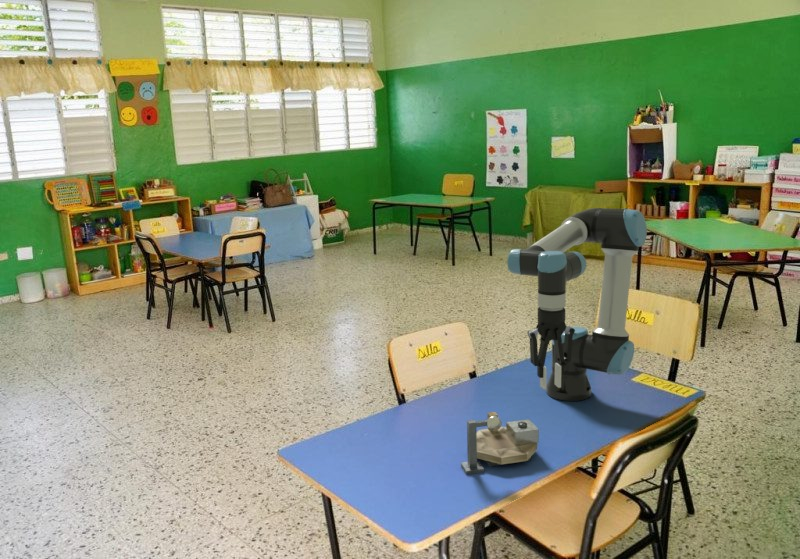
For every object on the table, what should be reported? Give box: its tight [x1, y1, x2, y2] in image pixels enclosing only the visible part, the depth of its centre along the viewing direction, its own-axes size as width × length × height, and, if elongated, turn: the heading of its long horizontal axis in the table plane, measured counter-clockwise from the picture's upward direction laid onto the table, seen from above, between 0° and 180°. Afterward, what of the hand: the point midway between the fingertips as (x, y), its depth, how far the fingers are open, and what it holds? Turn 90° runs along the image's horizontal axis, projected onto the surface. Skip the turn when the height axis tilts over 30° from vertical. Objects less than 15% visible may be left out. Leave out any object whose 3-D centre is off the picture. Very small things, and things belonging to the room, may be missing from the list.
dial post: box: [460, 416, 502, 475], centre depth 182 cm, size 10×5×15 cm, turn 102°
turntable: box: [477, 411, 538, 465], centre depth 190 cm, size 18×18×7 cm
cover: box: [505, 419, 540, 446], centre depth 191 cm, size 7×7×5 cm
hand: (550, 386), depth 190 cm, fingers open, 4 cm apart
